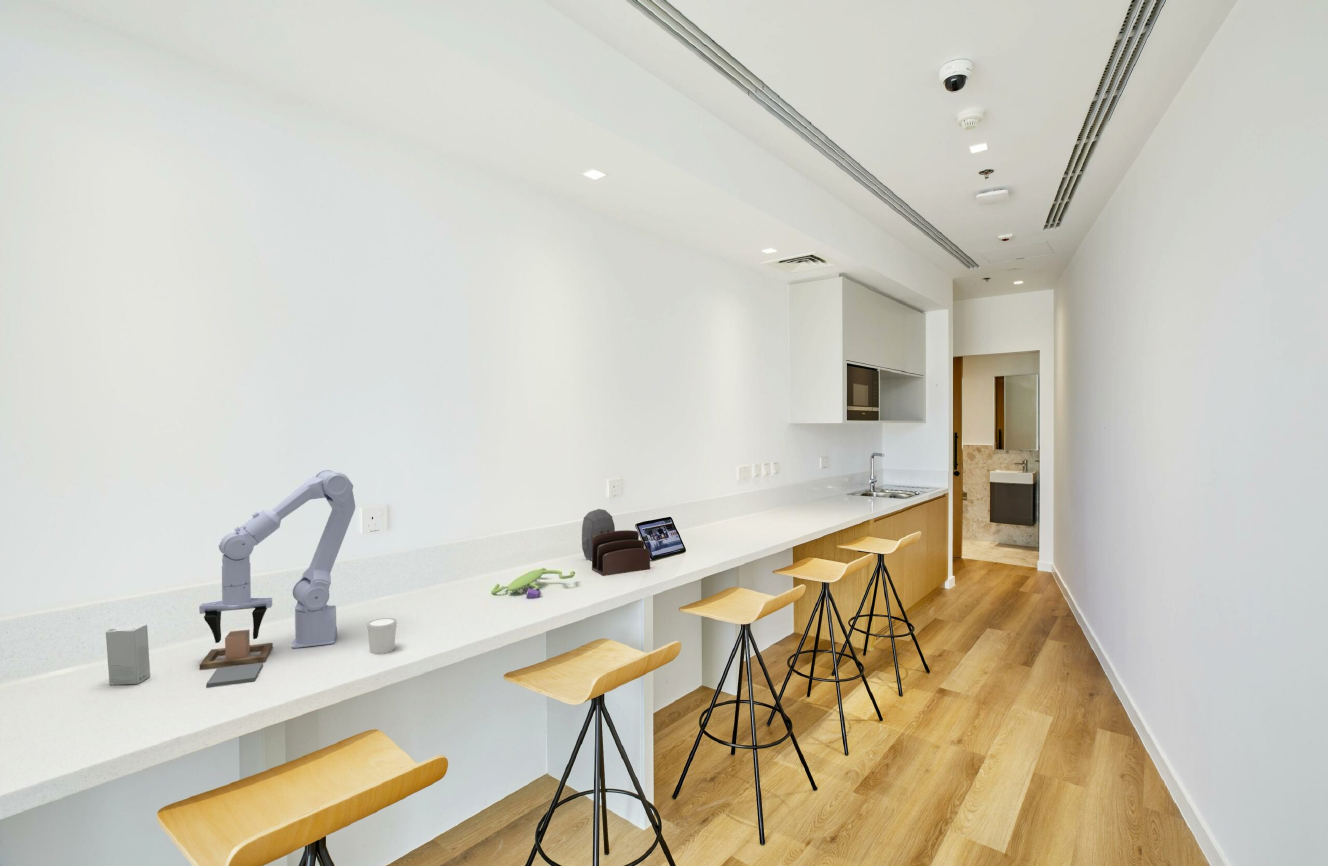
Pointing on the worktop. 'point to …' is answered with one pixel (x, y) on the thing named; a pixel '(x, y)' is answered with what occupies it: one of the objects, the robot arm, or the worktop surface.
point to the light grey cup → (381, 635)
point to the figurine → (529, 582)
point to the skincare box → (128, 654)
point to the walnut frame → (210, 657)
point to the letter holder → (619, 553)
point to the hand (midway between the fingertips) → (237, 639)
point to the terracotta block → (237, 644)
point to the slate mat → (235, 674)
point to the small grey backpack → (595, 528)
